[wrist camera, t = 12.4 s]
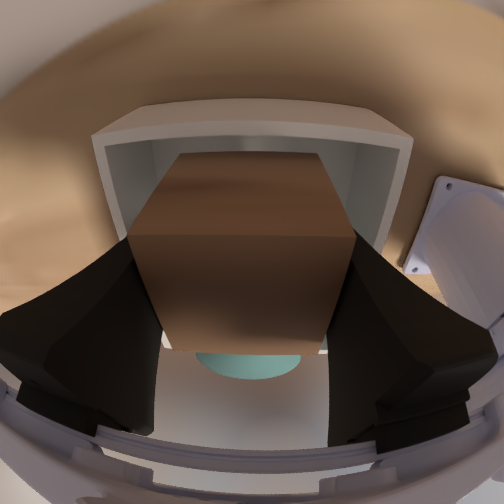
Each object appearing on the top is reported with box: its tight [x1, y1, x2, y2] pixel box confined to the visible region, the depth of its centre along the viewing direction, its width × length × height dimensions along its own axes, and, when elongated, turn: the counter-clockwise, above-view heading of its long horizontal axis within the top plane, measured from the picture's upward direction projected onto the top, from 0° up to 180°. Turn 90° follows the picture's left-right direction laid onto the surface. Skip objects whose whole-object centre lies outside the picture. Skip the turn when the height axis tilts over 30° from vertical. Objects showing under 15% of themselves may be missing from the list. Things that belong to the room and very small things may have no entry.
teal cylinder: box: [196, 352, 301, 379], centre depth 15 cm, size 5×5×7 cm
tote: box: [91, 98, 414, 354], centre depth 14 cm, size 12×14×5 cm
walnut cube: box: [126, 151, 357, 355], centre depth 9 cm, size 5×5×5 cm
